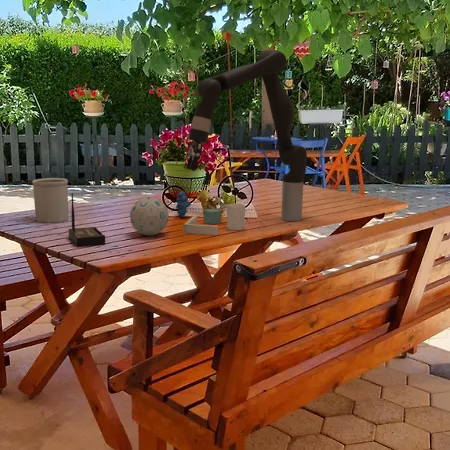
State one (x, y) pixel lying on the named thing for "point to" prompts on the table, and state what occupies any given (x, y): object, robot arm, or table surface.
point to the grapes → (182, 204)
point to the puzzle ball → (149, 216)
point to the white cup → (235, 216)
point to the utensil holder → (51, 199)
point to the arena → (199, 228)
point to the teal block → (212, 216)
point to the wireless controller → (85, 234)
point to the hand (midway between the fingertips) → (190, 169)
